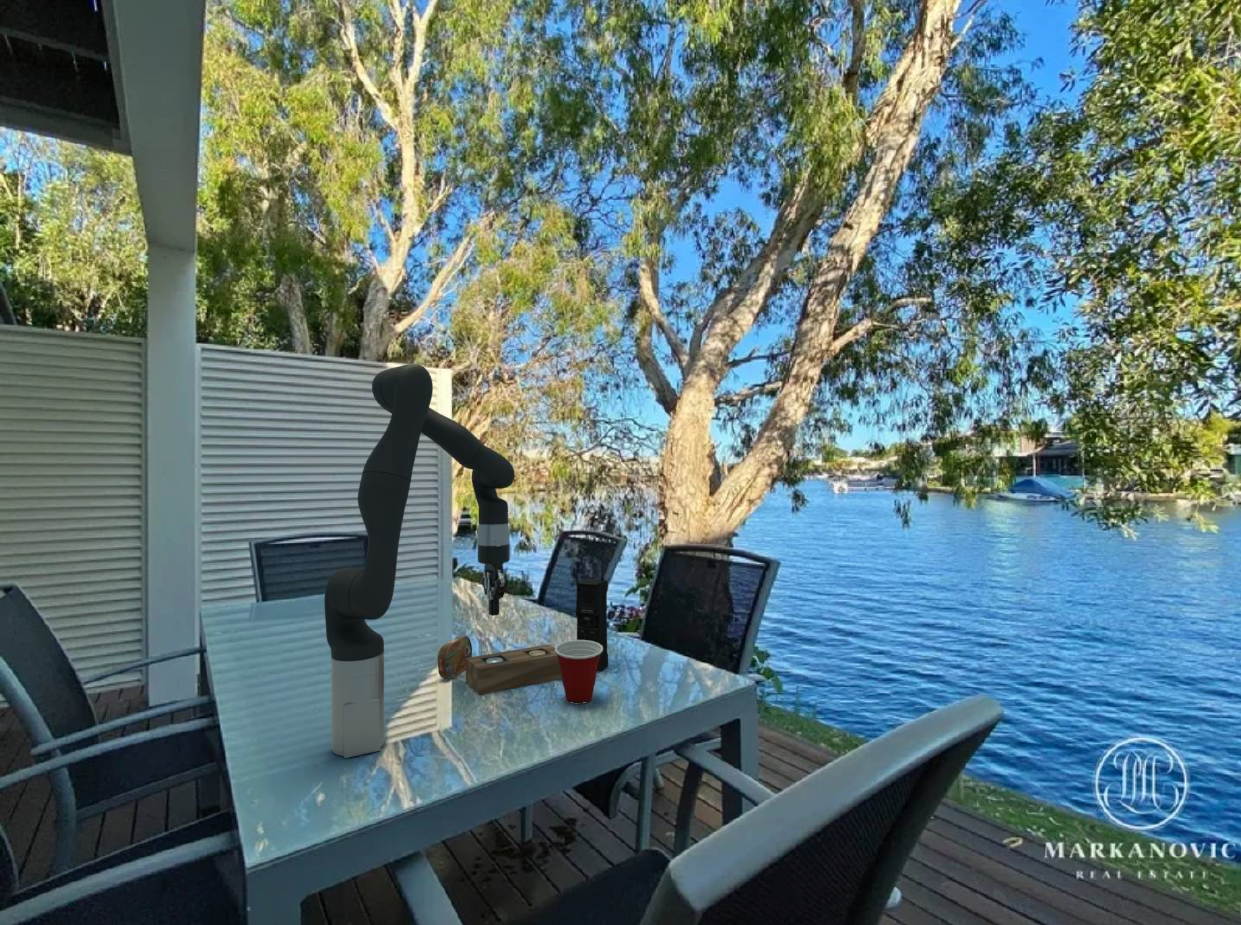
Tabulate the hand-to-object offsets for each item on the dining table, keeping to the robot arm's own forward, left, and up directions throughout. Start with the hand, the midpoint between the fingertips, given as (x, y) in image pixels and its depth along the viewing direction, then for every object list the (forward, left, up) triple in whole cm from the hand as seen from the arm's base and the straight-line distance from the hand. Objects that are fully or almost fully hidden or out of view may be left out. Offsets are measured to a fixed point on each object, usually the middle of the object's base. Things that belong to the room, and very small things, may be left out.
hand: (494, 614), depth 155 cm
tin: (+14, +5, -17) cm, 23 cm away
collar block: (0, -6, -17) cm, 18 cm away
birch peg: (0, -11, -17) cm, 20 cm away
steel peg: (0, 0, -17) cm, 17 cm away
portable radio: (-1, -26, -17) cm, 31 cm away
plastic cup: (-20, -13, -17) cm, 29 cm away
